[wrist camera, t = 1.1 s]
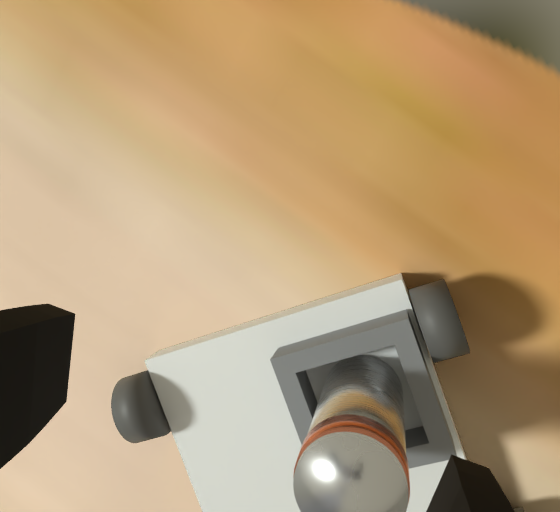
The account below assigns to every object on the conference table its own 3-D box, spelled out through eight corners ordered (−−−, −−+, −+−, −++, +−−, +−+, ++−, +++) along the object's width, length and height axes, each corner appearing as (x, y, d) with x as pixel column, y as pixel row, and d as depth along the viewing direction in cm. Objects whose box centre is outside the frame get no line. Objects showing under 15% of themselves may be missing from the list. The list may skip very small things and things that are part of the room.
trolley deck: (550, 590, 22) (575, 653, 19) (240, 636, 25) (220, 694, 23) (436, 261, 21) (443, 273, 18) (132, 358, 25) (98, 381, 22)
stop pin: (415, 419, 20) (427, 534, 14) (338, 437, 21) (314, 555, 14) (388, 343, 20) (386, 422, 14) (312, 365, 21) (275, 450, 14)
